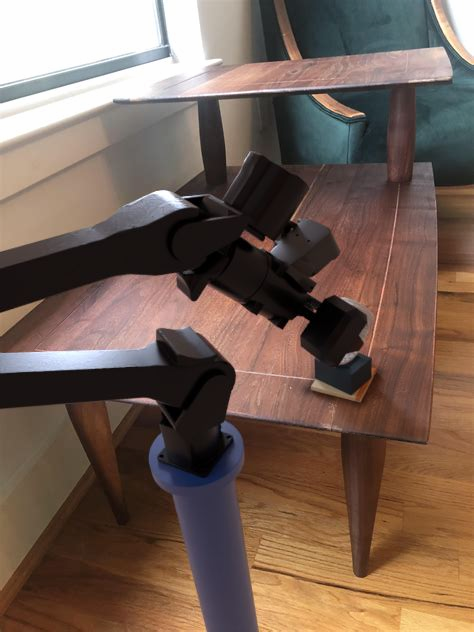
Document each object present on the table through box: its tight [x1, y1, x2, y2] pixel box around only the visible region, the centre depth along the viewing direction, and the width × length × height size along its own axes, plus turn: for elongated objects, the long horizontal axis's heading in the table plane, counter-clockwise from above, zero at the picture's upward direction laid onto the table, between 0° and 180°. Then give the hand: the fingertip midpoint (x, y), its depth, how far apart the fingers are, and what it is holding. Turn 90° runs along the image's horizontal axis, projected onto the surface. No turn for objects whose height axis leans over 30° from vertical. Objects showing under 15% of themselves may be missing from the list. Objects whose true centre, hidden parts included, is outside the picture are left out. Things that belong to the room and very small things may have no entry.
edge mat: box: [310, 366, 377, 403], centre depth 69 cm, size 6×6×1 cm
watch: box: [313, 296, 375, 395], centre depth 66 cm, size 6×8×11 cm
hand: (334, 329), depth 65 cm, fingers open, 9 cm apart
